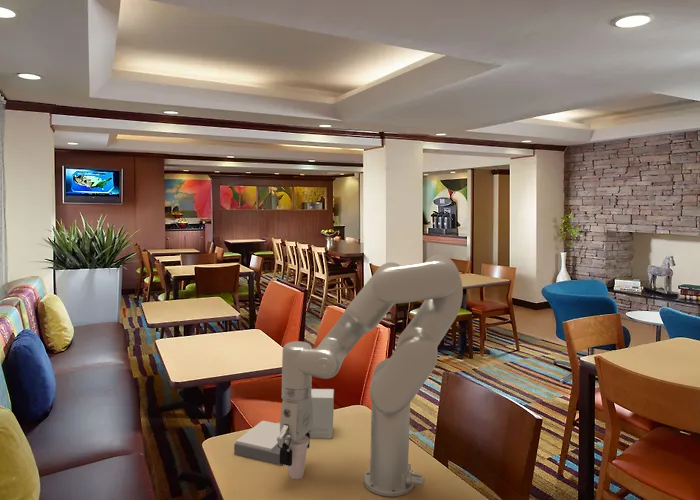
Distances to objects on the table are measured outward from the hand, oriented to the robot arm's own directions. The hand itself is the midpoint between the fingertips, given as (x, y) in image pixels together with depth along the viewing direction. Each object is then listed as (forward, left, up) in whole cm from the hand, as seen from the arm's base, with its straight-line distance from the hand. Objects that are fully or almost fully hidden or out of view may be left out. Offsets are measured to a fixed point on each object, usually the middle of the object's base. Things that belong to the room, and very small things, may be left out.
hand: (295, 455), depth 130 cm
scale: (+13, -10, -5) cm, 17 cm away
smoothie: (0, 0, -6) cm, 5 cm away
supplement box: (+4, -24, -6) cm, 25 cm away
